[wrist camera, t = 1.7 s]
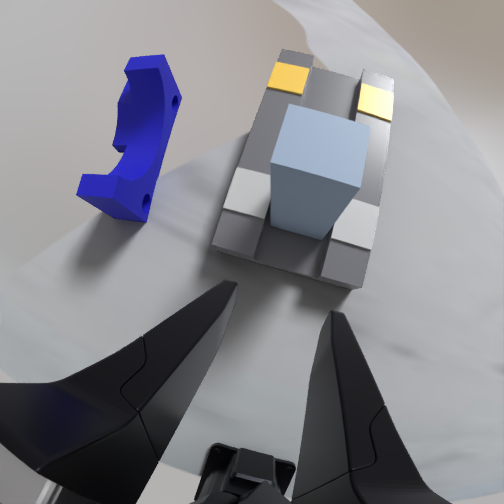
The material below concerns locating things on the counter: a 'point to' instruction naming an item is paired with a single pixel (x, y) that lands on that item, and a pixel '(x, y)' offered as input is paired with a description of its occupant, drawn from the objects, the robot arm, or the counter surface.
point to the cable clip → (137, 141)
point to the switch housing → (258, 175)
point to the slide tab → (315, 170)
